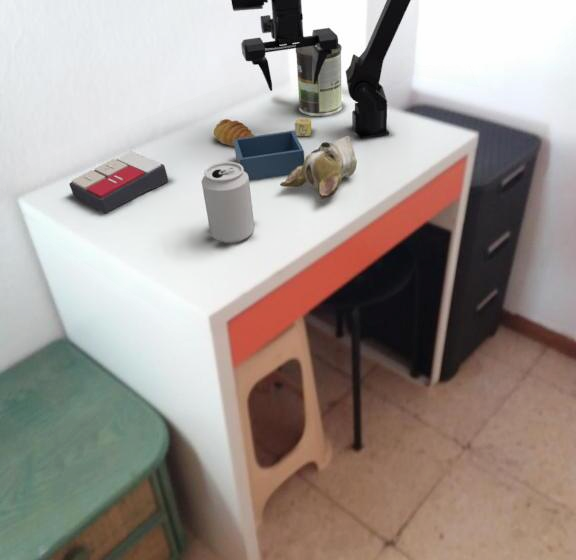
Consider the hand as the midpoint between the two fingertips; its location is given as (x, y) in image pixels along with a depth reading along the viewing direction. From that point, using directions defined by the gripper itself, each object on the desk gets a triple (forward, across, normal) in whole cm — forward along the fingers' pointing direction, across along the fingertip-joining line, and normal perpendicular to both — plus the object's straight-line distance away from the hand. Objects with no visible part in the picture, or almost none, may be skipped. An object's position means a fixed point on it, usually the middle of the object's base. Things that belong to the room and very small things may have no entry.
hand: (292, 86), depth 125 cm
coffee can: (+11, -9, -14) cm, 20 cm away
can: (+11, +19, +35) cm, 41 cm away
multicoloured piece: (+11, +38, +12) cm, 41 cm away
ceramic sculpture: (+11, 0, +24) cm, 26 cm away
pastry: (+11, +13, -3) cm, 17 cm away
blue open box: (+11, +8, +12) cm, 18 cm away
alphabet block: (+11, -2, -1) cm, 11 cm away
